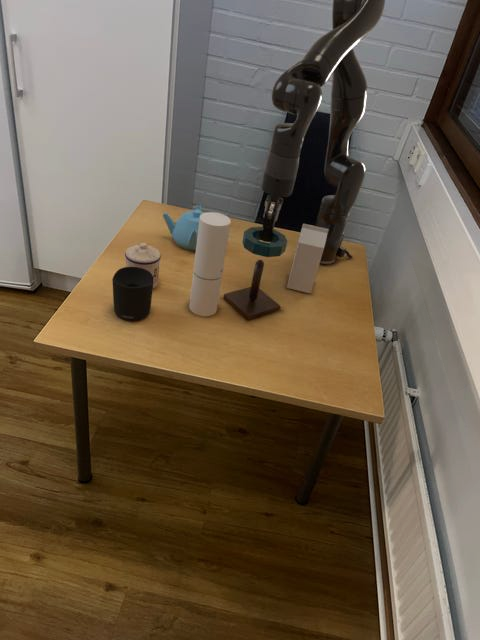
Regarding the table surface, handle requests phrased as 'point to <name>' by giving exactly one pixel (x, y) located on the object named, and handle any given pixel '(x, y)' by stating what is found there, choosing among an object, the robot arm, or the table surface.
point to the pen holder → (132, 293)
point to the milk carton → (307, 258)
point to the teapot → (185, 228)
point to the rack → (252, 298)
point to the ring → (263, 248)
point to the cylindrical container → (209, 263)
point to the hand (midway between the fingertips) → (266, 238)
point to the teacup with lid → (144, 259)
